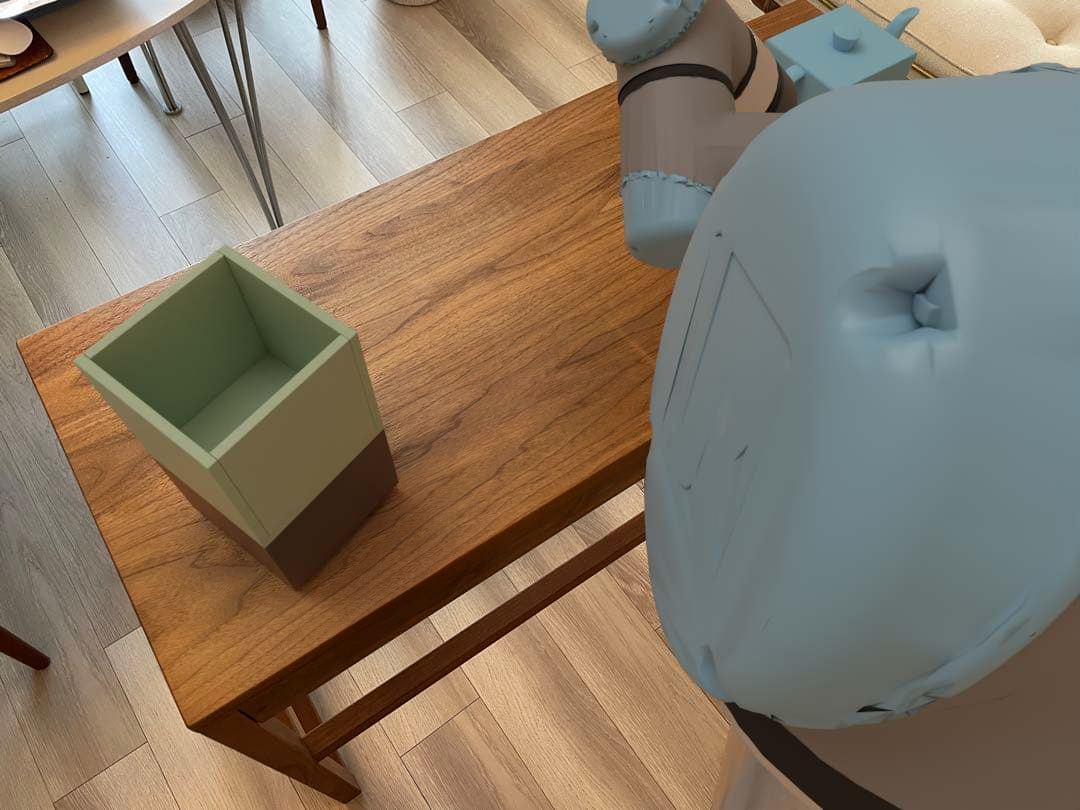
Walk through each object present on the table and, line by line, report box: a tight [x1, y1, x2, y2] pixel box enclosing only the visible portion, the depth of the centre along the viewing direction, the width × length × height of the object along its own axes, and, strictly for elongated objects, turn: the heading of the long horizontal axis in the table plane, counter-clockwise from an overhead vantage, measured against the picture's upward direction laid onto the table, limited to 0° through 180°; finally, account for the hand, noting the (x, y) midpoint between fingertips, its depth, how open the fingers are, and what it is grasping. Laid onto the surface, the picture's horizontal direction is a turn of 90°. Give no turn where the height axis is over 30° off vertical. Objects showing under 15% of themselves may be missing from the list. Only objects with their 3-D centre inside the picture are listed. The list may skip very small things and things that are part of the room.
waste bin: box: [72, 244, 400, 593], centre depth 62 cm, size 13×13×23 cm
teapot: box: [764, 4, 921, 106], centre depth 95 cm, size 22×11×14 cm, turn 125°
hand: (831, 192), depth 79 cm, fingers closed on pill bottle, 6 cm apart
